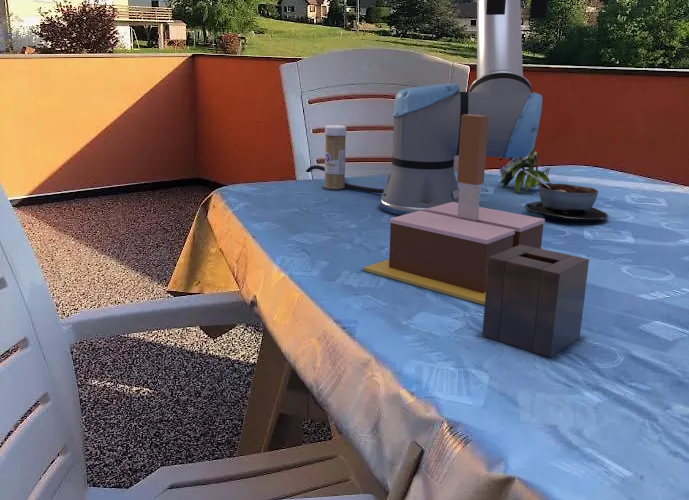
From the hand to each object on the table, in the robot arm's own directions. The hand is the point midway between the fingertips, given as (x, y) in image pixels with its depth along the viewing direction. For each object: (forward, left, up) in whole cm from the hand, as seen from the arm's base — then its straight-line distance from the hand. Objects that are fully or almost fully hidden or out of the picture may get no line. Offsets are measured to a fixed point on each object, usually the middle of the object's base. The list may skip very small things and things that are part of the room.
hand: (517, 16), depth 110 cm
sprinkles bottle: (-45, +8, -35) cm, 58 cm away
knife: (+7, -22, -34) cm, 41 cm away
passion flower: (-16, +38, -35) cm, 54 cm away
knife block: (+25, -37, -35) cm, 57 cm away
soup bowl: (+2, +20, -35) cm, 40 cm away
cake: (+7, -22, -35) cm, 42 cm away
